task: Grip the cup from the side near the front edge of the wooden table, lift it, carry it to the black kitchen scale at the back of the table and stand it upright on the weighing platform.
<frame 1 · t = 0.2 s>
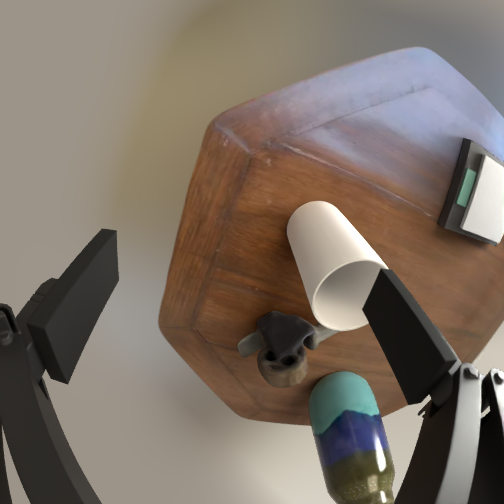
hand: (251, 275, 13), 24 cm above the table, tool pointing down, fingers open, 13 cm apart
grey two-tone handled device: (297, 318, 46), on the table
scale: (480, 195, 37), on the table
vase: (335, 381, 56), on the table
cup: (315, 228, 39), on the table
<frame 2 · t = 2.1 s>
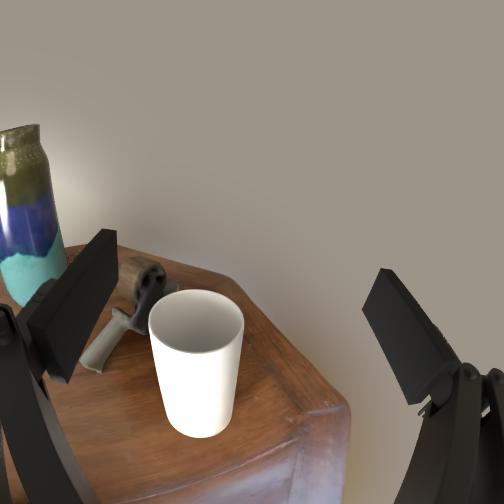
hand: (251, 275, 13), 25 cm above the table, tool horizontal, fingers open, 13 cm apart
grey two-tone handled device: (134, 336, 40), on the table
vase: (43, 298, 43), on the table
cup: (199, 410, 31), on the table
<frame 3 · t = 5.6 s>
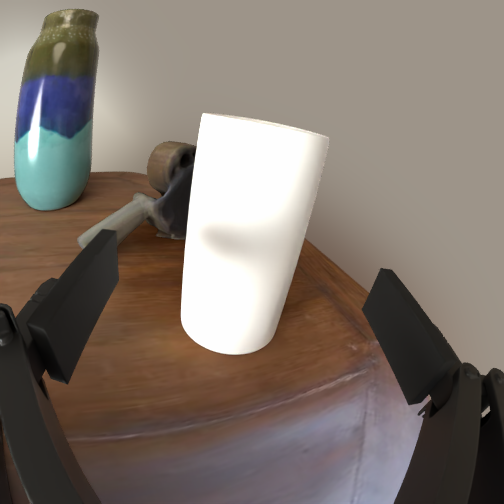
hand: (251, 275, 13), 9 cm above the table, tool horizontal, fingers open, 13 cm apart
grey two-tone handled device: (153, 239, 34), on the table
vase: (53, 203, 38), on the table
cup: (228, 320, 24), on the table
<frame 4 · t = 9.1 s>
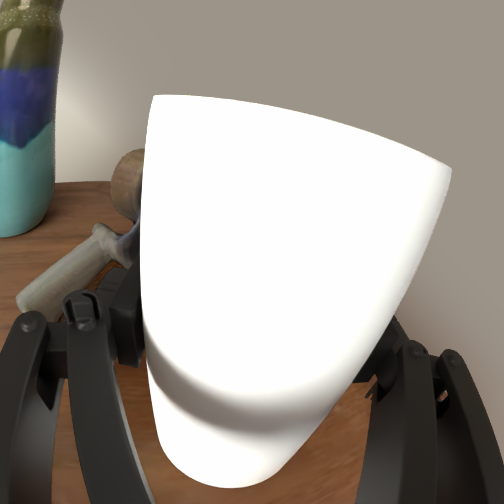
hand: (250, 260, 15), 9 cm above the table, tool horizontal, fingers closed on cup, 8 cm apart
grey two-tone handled device: (124, 284, 25), on the table
vase: (15, 226, 29), on the table
cup: (226, 428, 15), on the table, touching gripper
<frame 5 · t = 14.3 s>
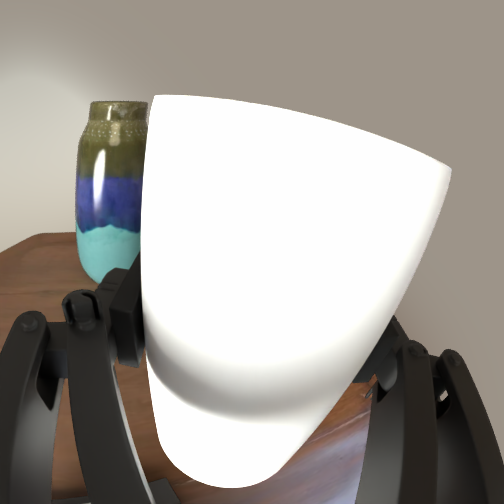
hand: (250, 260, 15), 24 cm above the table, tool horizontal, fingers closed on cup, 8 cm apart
vase: (115, 275, 50), on the table
cup: (226, 428, 15), point 15 cm above the table, touching gripper
when the fingers open (12 cm above the table, at t = 19.9 s): cup stays where it is, resting on scale.
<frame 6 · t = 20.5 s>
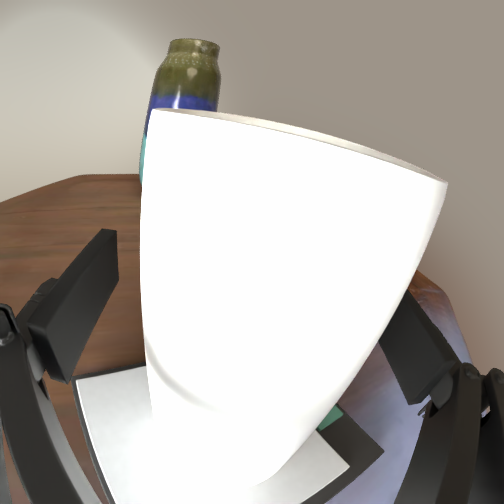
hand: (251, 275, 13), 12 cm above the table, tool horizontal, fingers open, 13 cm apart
scale: (221, 445, 16), on the table
vase: (171, 199, 55), on the table
cup: (225, 430, 15), point 3 cm above the table, touching scale
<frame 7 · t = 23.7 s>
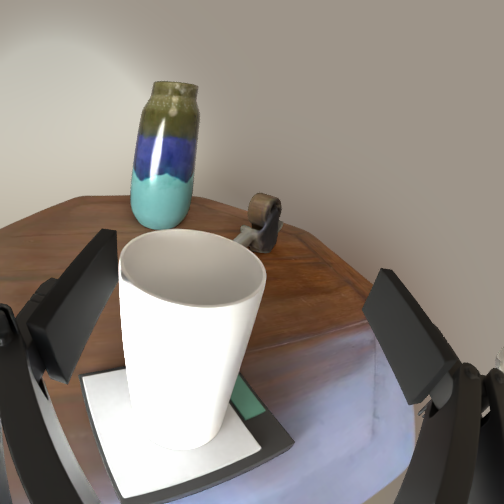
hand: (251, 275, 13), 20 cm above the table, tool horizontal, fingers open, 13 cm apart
grey two-tone handled device: (249, 253, 59), on the table
scale: (178, 424, 24), on the table
vase: (158, 223, 63), on the table
cup: (177, 412, 22), point 3 cm above the table, touching scale
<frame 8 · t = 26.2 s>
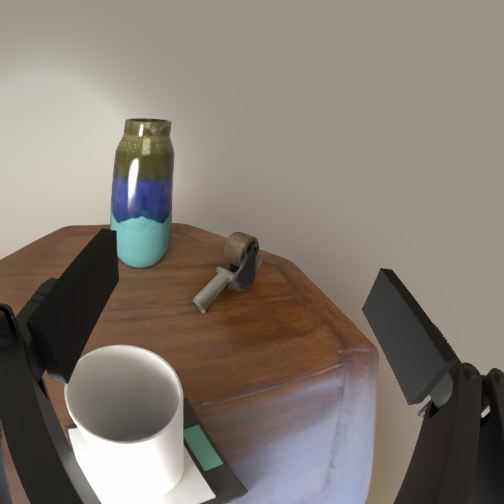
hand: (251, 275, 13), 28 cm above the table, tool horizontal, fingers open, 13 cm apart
grey two-tone handled device: (226, 291, 59), on the table
scale: (149, 469, 24), on the table
vase: (140, 259, 63), on the table
cup: (146, 463, 23), point 3 cm above the table, touching scale
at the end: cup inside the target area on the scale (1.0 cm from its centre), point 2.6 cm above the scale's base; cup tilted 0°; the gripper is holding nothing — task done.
